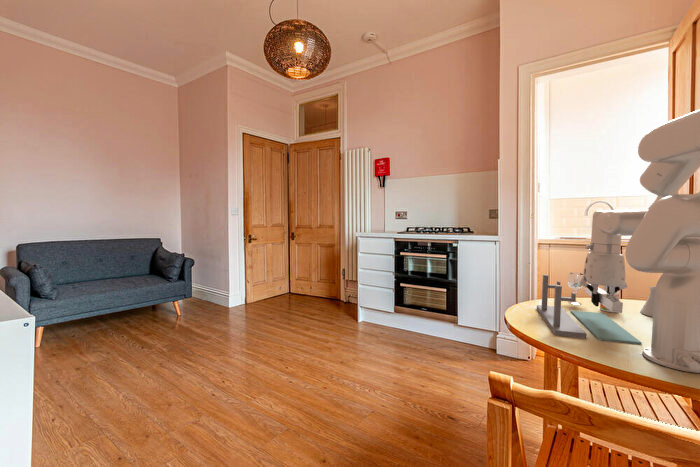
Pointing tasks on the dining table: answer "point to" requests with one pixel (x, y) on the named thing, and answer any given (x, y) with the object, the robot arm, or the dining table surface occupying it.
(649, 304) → the flask
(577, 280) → the wineglass
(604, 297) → the steel rail
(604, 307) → the supplement bottle
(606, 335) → the teal mat
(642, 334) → the dining table surface
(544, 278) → the rail stand
